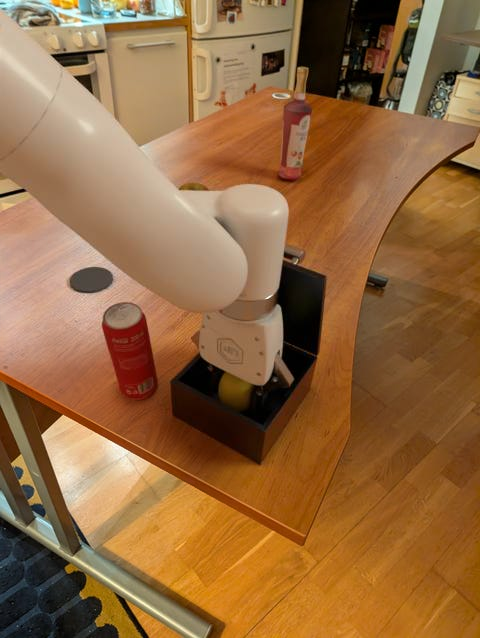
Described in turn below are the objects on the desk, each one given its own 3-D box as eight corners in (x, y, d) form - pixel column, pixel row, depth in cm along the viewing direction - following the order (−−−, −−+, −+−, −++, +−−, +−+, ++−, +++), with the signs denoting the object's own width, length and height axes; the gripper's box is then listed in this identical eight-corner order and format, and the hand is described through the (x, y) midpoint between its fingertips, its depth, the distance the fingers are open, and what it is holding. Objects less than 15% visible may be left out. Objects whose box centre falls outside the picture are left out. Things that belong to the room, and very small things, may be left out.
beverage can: (164, 380, 71) (158, 305, 61) (140, 410, 66) (129, 334, 57) (132, 367, 73) (121, 291, 63) (107, 395, 68) (90, 319, 58)
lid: (324, 280, 53) (342, 251, 55) (217, 240, 58) (239, 216, 60) (317, 356, 66) (332, 330, 68) (231, 318, 71) (247, 295, 74)
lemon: (214, 419, 65) (215, 381, 60) (221, 390, 69) (223, 352, 64) (253, 426, 64) (257, 388, 59) (258, 396, 68) (263, 358, 63)
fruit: (206, 230, 106) (206, 198, 101) (168, 224, 107) (167, 192, 102) (216, 211, 113) (217, 180, 108) (181, 206, 114) (179, 175, 109)
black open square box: (260, 465, 61) (265, 432, 56) (172, 415, 66) (169, 381, 61) (310, 389, 71) (317, 356, 66) (230, 351, 76) (232, 318, 72)
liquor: (288, 185, 126) (303, 73, 108) (271, 176, 131) (281, 66, 112) (307, 179, 130) (324, 69, 112) (289, 170, 134) (303, 63, 116)
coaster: (91, 298, 85) (91, 296, 85) (61, 283, 88) (60, 281, 88) (121, 277, 90) (121, 275, 90) (91, 264, 93) (91, 262, 93)
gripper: (166, 283, 54) (172, 386, 66) (297, 341, 47) (279, 443, 59) (203, 255, 59) (203, 355, 71) (326, 304, 52) (304, 404, 64)
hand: (237, 394), depth 65 cm, fingers closed on lemon, 5 cm apart
